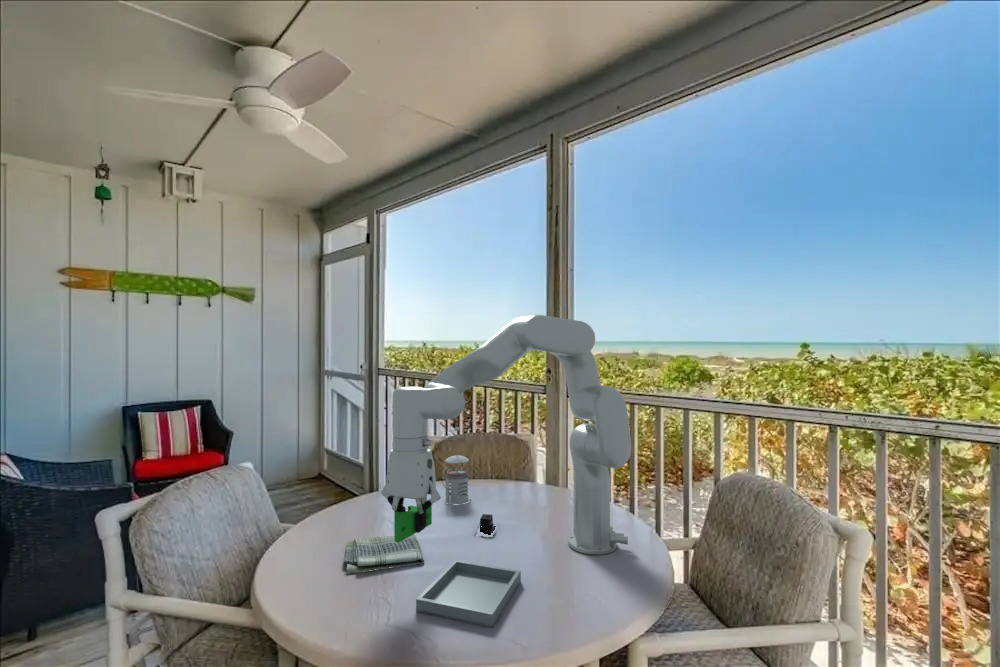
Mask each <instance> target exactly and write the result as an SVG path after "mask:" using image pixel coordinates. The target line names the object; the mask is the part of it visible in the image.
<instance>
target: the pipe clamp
mask: <svg viewBox="0 0 1000 667" xmlns="http://www.w3.org/2000/svg"><path fill="white" fill-rule="evenodd" d="M432 508H433V504H432V505H431V506H430V507H429V509H428V510H426V526H425V528H427V527H429V526H430V525H432V522H433V521H432V513H433V511H432V510H433V509H432ZM417 513H418V510H417V505H416V506H415V505H408V506H407V510H406V512H395V513H394V517H393V518H394V521H393V522H394V526H393V527H394V528H393V530H394V536H395V542H398V543H399V542H401V541H402V540H404V539H406V538H408V537H410V536H411V535H413V534H414V535H415V534H417V533H416V531H415V515H416V514H417Z"/></svg>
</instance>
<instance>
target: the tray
mask: <svg viewBox="0 0 1000 667" xmlns="http://www.w3.org/2000/svg"><path fill="white" fill-rule="evenodd" d="M521 573H522V572H521V570H518V569H512V568H506V567H498V566H493V565H488V564H482V563H476V562H471V561H466V560H465V561H464V560H458V559H454V560H453V562H451V563H450V564H449V565H448V566H447V567H446V568H445V569H444V570H443V571H442V573H441V574H439V576H437V577H436V578H435V580H433V582H432V583H431V584H429V585H428V586H427V588H425V589H424V591H422V592H421V593H420V595H418V597H416V599H415V612H416V613H418V614H424V615H429V616H433V617H439V618H443V619H447V620H451V621H455V622H456V621H457V622H461V623H465V624H469V625H470V624H471V625H476V626H481V627H485V628H489V629H493V628H494V626H495V625H496V623H497V622H498V620H499V618H500V616H501V615H502V613H503V611H504V610H505V608H506V607H507V606H508V604H509V602H510V601H511V599H512V597H513V595H514V594H515V592H516V591H517V589H518V587H519V586H520V584H521V583H522V581H521V580H522V578H521V576H522V575H521Z"/></svg>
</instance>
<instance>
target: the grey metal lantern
mask: <svg viewBox="0 0 1000 667" xmlns="http://www.w3.org/2000/svg"><path fill="white" fill-rule="evenodd" d="M460 430H461V429H460V427H459V426H456V427H455V428H454V430H453V431H454V432H460ZM444 462H445V463H446V464H449V465H464V464H467V463H468V462H469V458H467V457H465V455H459V454H456V455H452V456H450V457H449V456H448V458H446V459H445V460H444ZM446 470H447V471H446ZM445 472H446V476H445V484H444V482H442V485H443V487H444V488H445V497H444V498H443V499H444V500H443V499H442V502H443V501H444V502H445V503H448V504H463V503H466V502H468V501H470V499H471V498H470V497H469V475H468V470H466V469H458V468H456V469H453V467H451V466H450V468H448V466H446V467H445V468H444V470H443V473H442V477H444V474H445Z"/></svg>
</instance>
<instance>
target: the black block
mask: <svg viewBox="0 0 1000 667" xmlns="http://www.w3.org/2000/svg"><path fill="white" fill-rule="evenodd" d="M493 516H494V515H493V514H487V513H482V514H481V516H480V519H479V526H480V532H483V533H484V534H488V535H491V533H493V531H494V530H495V527H496V526H493V525H494V520H493V519H494V517H493ZM481 526H482V527H481Z"/></svg>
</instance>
